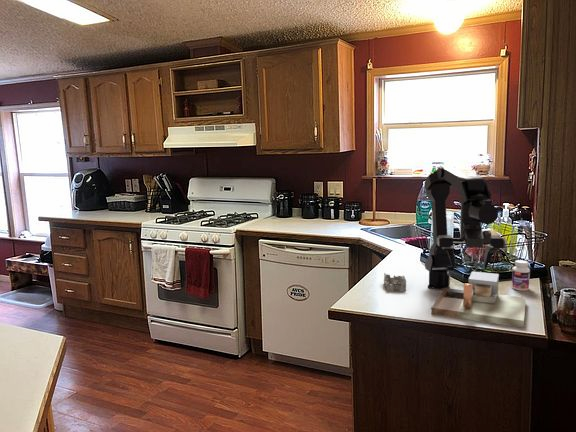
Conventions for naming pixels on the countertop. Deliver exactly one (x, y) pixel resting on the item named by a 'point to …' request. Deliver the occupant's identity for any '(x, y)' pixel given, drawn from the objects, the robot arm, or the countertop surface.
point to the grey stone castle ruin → (395, 282)
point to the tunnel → (484, 280)
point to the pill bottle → (520, 275)
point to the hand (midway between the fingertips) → (468, 268)
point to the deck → (481, 308)
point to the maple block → (483, 290)
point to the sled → (475, 296)
